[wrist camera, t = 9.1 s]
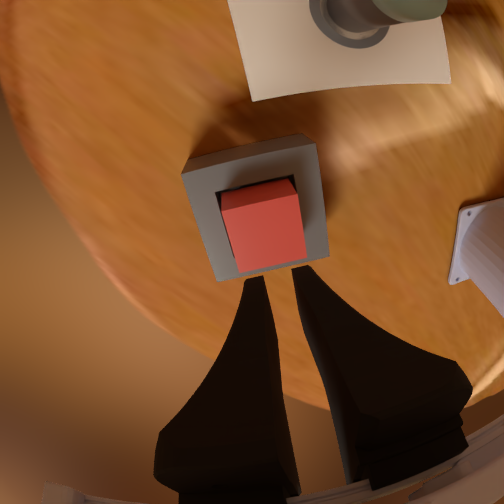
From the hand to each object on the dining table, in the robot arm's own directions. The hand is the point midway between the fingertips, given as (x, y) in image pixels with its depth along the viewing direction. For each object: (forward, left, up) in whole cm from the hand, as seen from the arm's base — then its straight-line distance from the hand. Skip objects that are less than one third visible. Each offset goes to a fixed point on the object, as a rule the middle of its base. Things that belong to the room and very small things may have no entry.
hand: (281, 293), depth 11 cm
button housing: (0, 0, -9) cm, 9 cm away
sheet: (-8, -11, -9) cm, 17 cm away
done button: (0, 0, -7) cm, 7 cm away
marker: (-8, -11, -9) cm, 16 cm away
